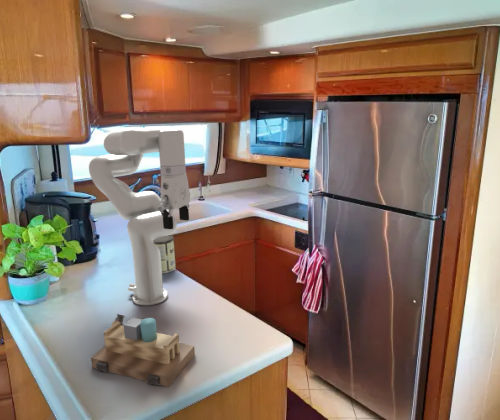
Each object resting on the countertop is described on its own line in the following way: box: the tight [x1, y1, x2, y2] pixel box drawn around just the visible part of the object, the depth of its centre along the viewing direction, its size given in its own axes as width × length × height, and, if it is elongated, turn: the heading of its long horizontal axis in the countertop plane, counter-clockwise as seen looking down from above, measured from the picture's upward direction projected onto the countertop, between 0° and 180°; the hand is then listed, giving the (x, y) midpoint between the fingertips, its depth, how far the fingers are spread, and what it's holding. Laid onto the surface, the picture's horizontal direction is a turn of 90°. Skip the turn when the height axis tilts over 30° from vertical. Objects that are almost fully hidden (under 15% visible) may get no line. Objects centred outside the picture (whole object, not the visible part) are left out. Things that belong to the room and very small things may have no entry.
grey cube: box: [123, 317, 143, 341], centre depth 112 cm, size 4×4×4 cm
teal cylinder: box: [140, 317, 158, 342], centre depth 110 cm, size 4×4×5 cm
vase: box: [105, 313, 126, 328], centre depth 127 cm, size 5×5×6 cm
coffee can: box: [153, 234, 176, 274], centre depth 174 cm, size 10×10×14 cm
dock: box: [90, 342, 196, 388], centre depth 113 cm, size 24×15×3 cm, turn 70°
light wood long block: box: [103, 322, 180, 364], centre depth 112 cm, size 20×6×6 cm, turn 70°
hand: (176, 224), depth 128 cm, fingers open, 9 cm apart
